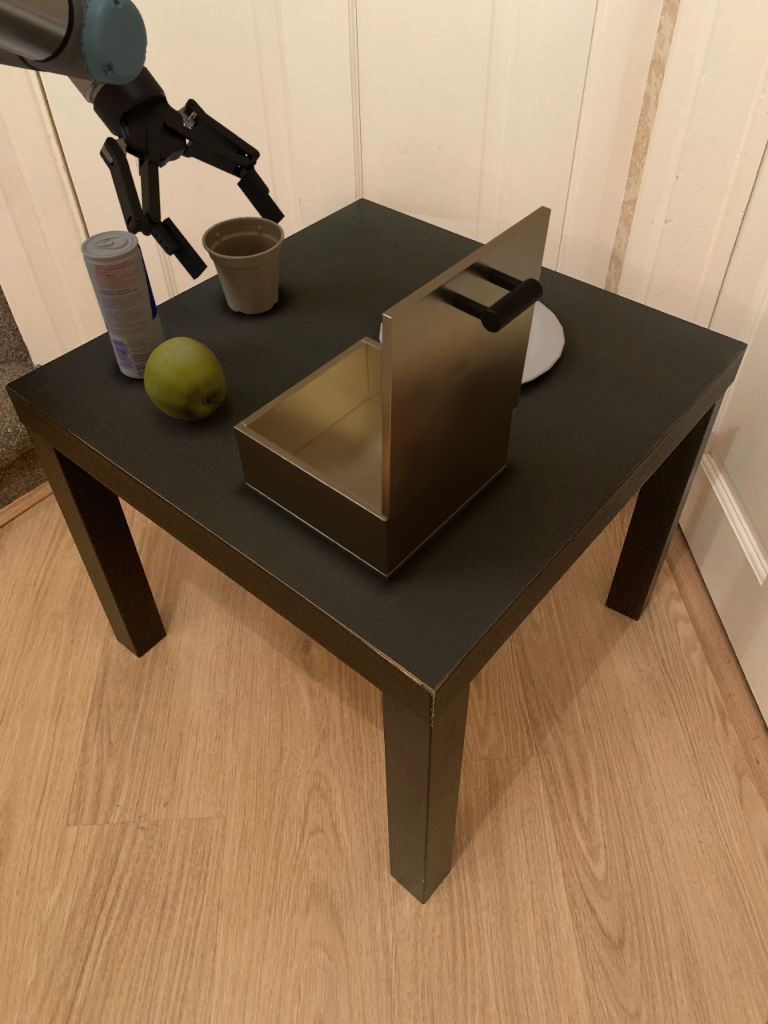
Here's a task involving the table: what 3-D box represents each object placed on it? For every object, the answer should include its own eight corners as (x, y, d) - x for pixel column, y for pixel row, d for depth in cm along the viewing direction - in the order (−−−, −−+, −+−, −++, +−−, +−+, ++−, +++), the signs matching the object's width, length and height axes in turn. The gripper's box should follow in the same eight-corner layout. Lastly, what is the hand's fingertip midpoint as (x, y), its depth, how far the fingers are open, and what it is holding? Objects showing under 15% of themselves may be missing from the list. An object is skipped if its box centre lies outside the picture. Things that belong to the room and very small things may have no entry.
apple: (198, 374, 88) (183, 312, 82) (247, 412, 83) (235, 349, 77) (137, 406, 84) (117, 343, 78) (185, 448, 79) (167, 384, 74)
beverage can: (181, 364, 89) (149, 240, 78) (140, 388, 86) (100, 263, 75) (152, 345, 92) (117, 222, 81) (110, 367, 89) (68, 243, 78)
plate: (454, 275, 100) (454, 263, 99) (598, 336, 91) (600, 323, 90) (341, 350, 90) (340, 338, 89) (490, 428, 80) (491, 416, 79)
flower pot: (307, 299, 97) (301, 234, 91) (248, 333, 93) (237, 266, 86) (258, 273, 102) (248, 208, 96) (199, 303, 97) (185, 237, 91)
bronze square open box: (246, 488, 75) (233, 426, 70) (368, 397, 84) (365, 335, 79) (387, 582, 67) (385, 520, 62) (505, 470, 76) (513, 408, 71)
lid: (381, 313, 48) (441, 343, 46) (542, 205, 57) (598, 226, 55) (381, 514, 62) (427, 544, 60) (510, 402, 70) (554, 425, 68)
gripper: (183, 71, 97) (292, 218, 102) (18, 145, 84) (153, 310, 89) (207, 30, 91) (321, 188, 96) (33, 102, 78) (177, 282, 83)
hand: (241, 247), depth 93 cm, fingers open, 13 cm apart
